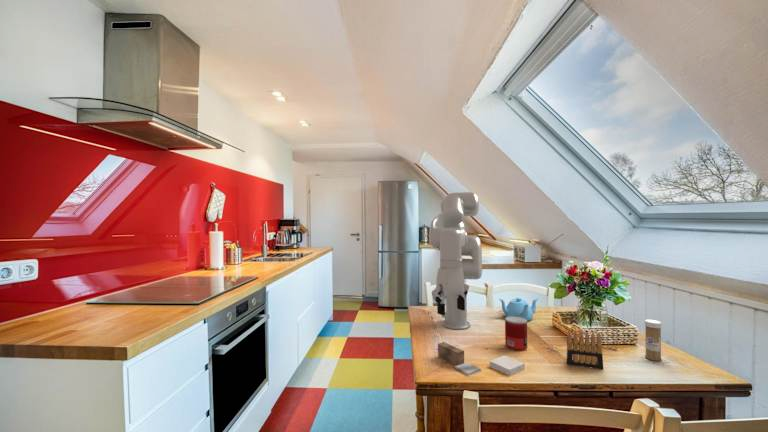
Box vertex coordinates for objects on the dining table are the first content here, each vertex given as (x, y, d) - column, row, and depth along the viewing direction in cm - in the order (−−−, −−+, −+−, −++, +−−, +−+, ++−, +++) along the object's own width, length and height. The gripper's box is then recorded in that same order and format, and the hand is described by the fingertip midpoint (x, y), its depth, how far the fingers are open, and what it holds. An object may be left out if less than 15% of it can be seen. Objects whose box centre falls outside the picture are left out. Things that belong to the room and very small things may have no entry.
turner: (435, 358, 121) (434, 344, 121) (447, 354, 124) (447, 341, 124) (468, 375, 107) (468, 360, 107) (480, 371, 110) (480, 356, 111)
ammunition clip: (602, 367, 112) (601, 331, 112) (603, 369, 111) (603, 333, 111) (566, 362, 116) (566, 328, 116) (567, 364, 115) (566, 329, 115)
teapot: (511, 312, 177) (511, 293, 177) (540, 318, 166) (540, 298, 166) (498, 318, 167) (498, 298, 167) (528, 325, 156) (528, 303, 156)
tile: (489, 361, 114) (509, 369, 107) (504, 355, 118) (524, 363, 111) (489, 367, 114) (509, 377, 107) (504, 361, 118) (524, 370, 111)
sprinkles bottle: (643, 358, 119) (643, 320, 119) (646, 354, 122) (646, 318, 122) (660, 362, 115) (659, 323, 115) (662, 358, 118) (662, 321, 118)
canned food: (529, 352, 125) (529, 322, 125) (507, 350, 127) (506, 321, 127) (524, 344, 133) (524, 316, 133) (504, 343, 135) (503, 315, 135)
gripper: (460, 260, 126) (460, 305, 126) (425, 265, 116) (425, 313, 116) (475, 262, 119) (476, 310, 120) (440, 267, 110) (440, 319, 110)
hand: (451, 311), depth 118 cm, fingers open, 9 cm apart
